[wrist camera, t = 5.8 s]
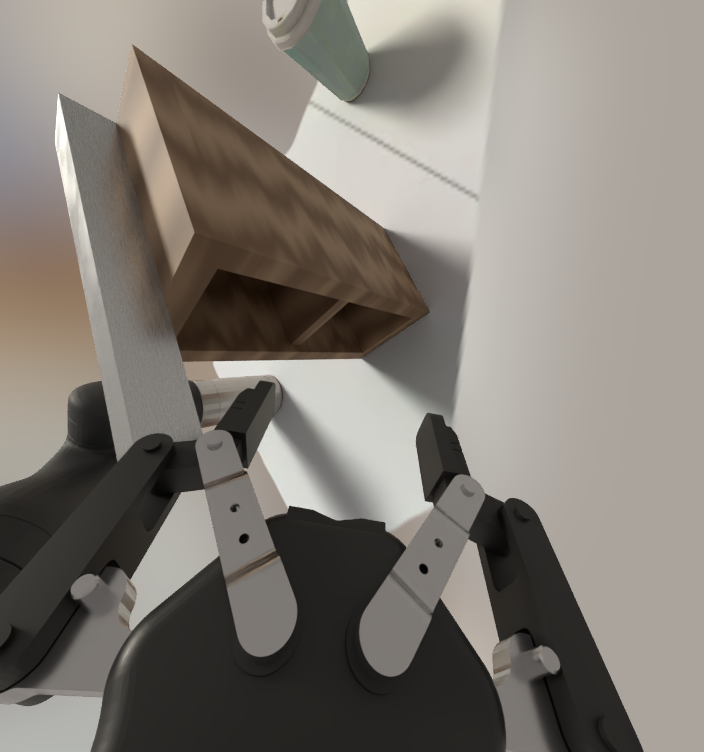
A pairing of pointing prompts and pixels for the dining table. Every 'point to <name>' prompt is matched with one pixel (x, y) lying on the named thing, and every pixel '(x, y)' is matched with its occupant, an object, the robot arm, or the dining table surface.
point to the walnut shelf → (252, 236)
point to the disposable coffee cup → (321, 42)
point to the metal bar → (121, 285)
